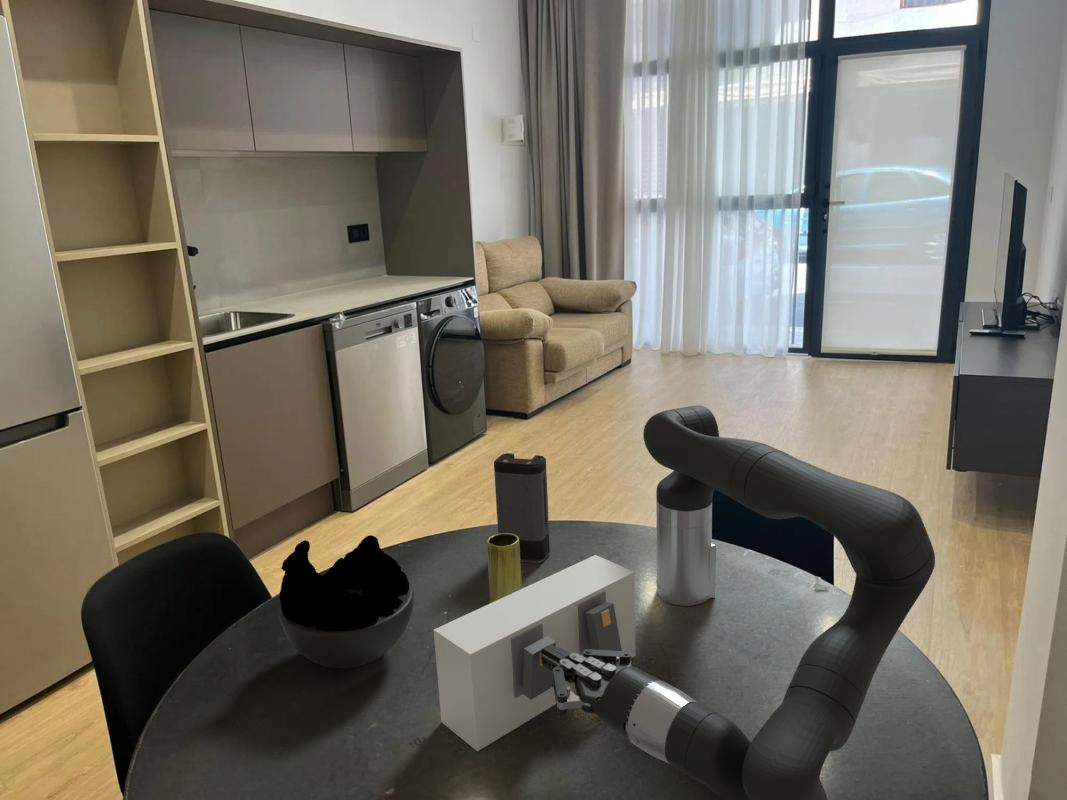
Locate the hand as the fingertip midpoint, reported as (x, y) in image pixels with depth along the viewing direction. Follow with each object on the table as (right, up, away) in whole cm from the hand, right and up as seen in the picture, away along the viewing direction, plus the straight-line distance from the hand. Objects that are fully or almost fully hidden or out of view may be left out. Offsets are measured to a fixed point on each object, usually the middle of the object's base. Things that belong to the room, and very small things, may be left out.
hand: (545, 653), depth 100 cm
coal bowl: (-29, -8, +22) cm, 37 cm away
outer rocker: (-1, -6, +3) cm, 6 cm away
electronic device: (-3, +2, +53) cm, 53 cm away
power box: (0, -9, +12) cm, 15 cm away
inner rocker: (+9, -3, +9) cm, 13 cm away
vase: (-6, -4, +31) cm, 32 cm away
